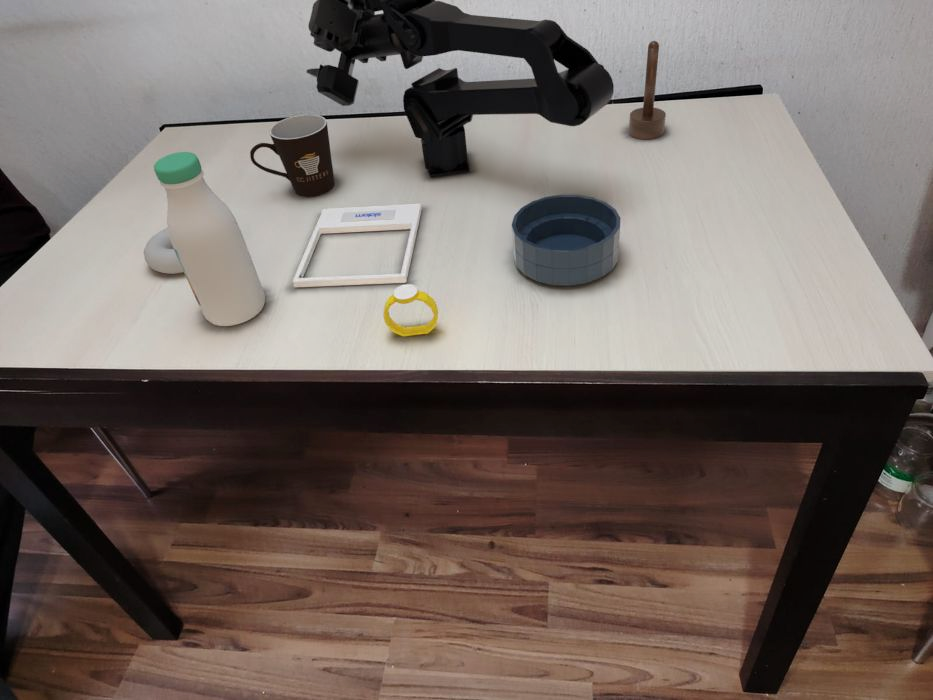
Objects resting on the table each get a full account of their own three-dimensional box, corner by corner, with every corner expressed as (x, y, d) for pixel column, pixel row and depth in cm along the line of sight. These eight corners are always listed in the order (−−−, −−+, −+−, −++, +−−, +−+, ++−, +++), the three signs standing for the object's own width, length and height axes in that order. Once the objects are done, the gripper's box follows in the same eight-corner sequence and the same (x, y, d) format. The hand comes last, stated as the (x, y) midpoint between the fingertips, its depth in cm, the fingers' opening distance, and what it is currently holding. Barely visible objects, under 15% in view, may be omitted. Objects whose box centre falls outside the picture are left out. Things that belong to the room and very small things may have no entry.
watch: (441, 322, 78) (434, 281, 74) (440, 338, 76) (433, 296, 72) (390, 326, 78) (380, 285, 74) (388, 342, 76) (378, 300, 72)
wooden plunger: (657, 122, 111) (665, 33, 102) (668, 136, 107) (679, 44, 98) (624, 127, 111) (630, 38, 102) (634, 141, 107) (641, 49, 98)
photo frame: (420, 202, 97) (404, 275, 83) (421, 209, 97) (406, 282, 84) (322, 207, 98) (291, 280, 85) (324, 214, 99) (294, 287, 86)
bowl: (601, 225, 90) (603, 188, 86) (631, 280, 80) (634, 241, 76) (506, 239, 89) (504, 202, 86) (524, 296, 80) (522, 258, 76)
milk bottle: (279, 296, 85) (226, 147, 71) (240, 333, 80) (176, 181, 66) (232, 285, 88) (173, 140, 74) (191, 320, 83) (121, 172, 69)
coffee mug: (347, 173, 109) (332, 113, 102) (334, 199, 102) (318, 137, 96) (279, 176, 110) (260, 117, 104) (262, 202, 104) (241, 141, 97)
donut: (194, 283, 89) (235, 241, 96) (183, 262, 87) (227, 220, 93) (134, 274, 92) (179, 234, 99) (123, 254, 90) (169, 214, 96)
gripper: (355, -60, 93) (288, -41, 102) (324, 72, 93) (260, 78, 103) (408, -15, 102) (342, -1, 111) (380, 105, 102) (316, 108, 111)
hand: (315, 45), depth 109 cm, fingers open, 9 cm apart
